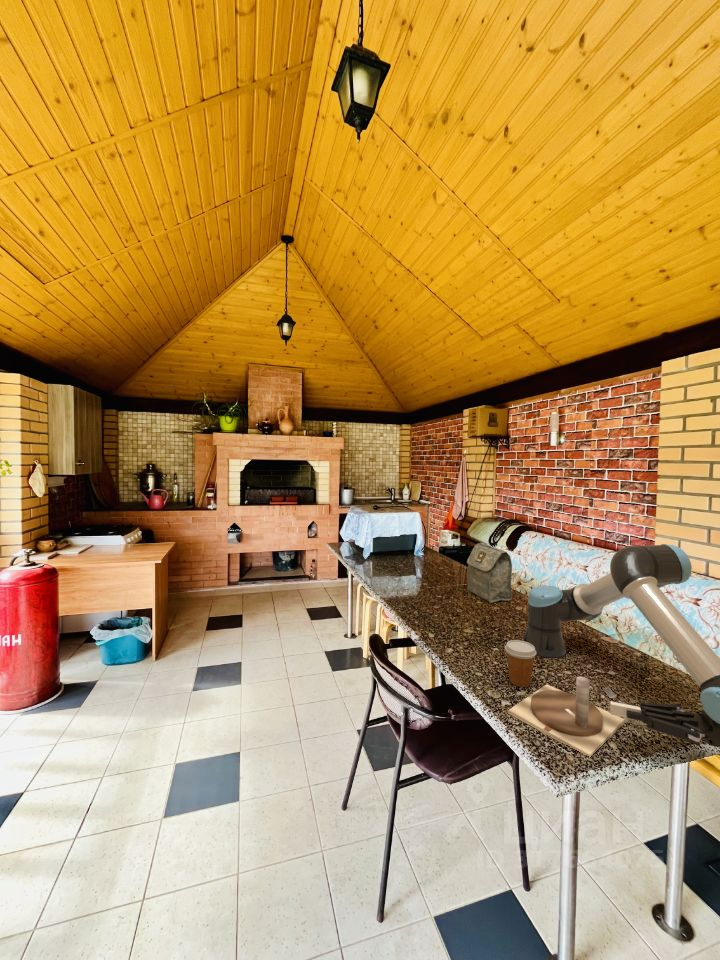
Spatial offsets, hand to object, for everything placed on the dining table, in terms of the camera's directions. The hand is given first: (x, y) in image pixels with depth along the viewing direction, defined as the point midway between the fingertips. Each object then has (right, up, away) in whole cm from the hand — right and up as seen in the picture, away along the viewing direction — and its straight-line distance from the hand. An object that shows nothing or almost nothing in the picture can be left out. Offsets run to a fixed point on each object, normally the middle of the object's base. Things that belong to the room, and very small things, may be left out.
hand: (610, 707), depth 104 cm
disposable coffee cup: (-12, -8, +28) cm, 31 cm away
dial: (-7, -7, +9) cm, 14 cm away
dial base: (-7, -8, +9) cm, 14 cm away
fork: (+14, -9, +15) cm, 22 cm away
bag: (+4, -3, +111) cm, 111 cm away
